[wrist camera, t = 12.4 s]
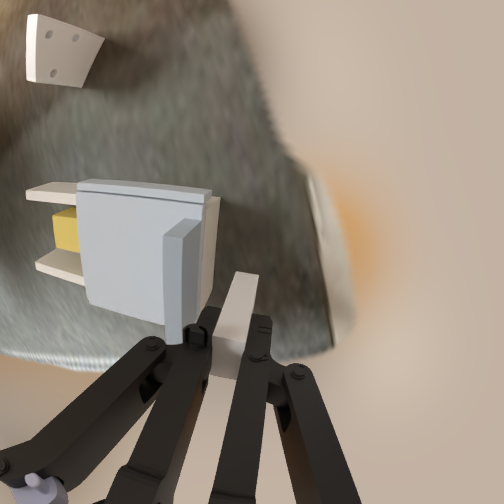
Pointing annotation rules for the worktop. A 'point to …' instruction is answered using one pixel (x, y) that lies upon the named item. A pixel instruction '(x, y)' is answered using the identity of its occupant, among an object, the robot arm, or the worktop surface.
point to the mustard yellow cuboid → (66, 230)
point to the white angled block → (59, 51)
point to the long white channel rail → (70, 262)
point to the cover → (143, 249)
